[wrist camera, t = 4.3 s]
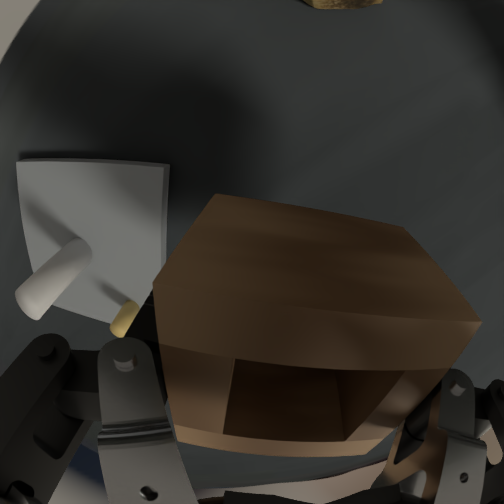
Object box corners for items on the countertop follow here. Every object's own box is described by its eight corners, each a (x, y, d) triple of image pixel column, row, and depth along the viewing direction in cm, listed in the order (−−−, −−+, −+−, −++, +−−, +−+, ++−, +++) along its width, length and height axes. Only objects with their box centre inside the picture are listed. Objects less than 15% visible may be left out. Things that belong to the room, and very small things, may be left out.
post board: (170, 164, 14) (102, 204, 8) (167, 327, 20) (138, 403, 13) (25, 158, 14) (-47, 189, 8) (47, 294, 19) (4, 345, 13)
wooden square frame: (403, 227, 8) (482, 321, 4) (347, 356, 11) (364, 454, 7) (215, 193, 9) (152, 282, 4) (206, 339, 12) (177, 440, 7)
